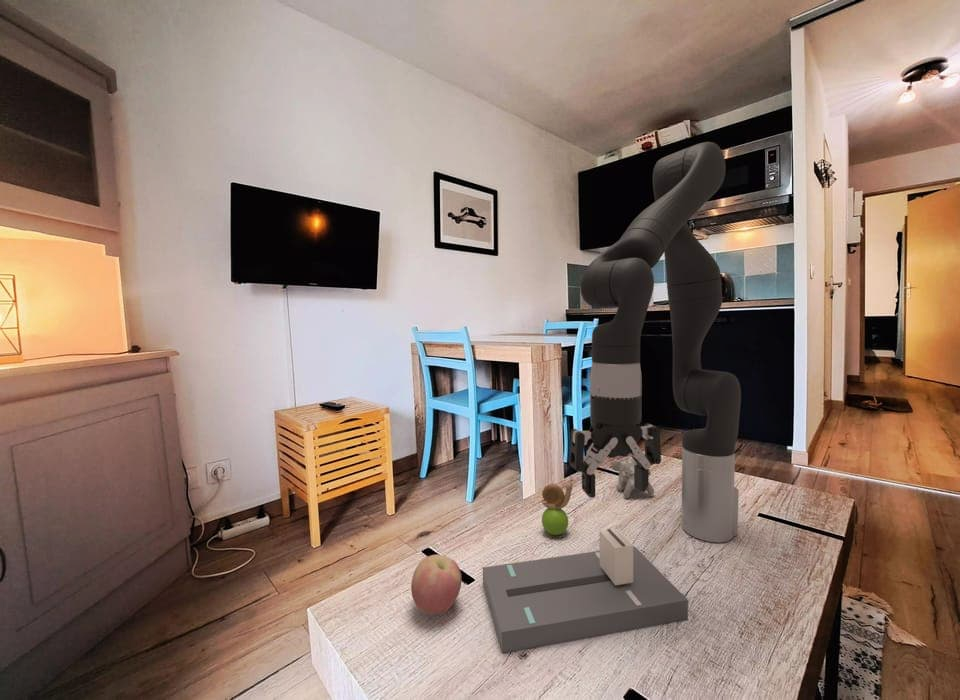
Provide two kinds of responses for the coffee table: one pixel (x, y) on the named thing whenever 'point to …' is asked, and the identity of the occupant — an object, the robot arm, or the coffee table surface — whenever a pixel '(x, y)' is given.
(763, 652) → the coffee table surface
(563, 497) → the snail figurine
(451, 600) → the apple
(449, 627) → the coffee table surface
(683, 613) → the fader console
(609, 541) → the fader
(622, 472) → the grey animal figurine
